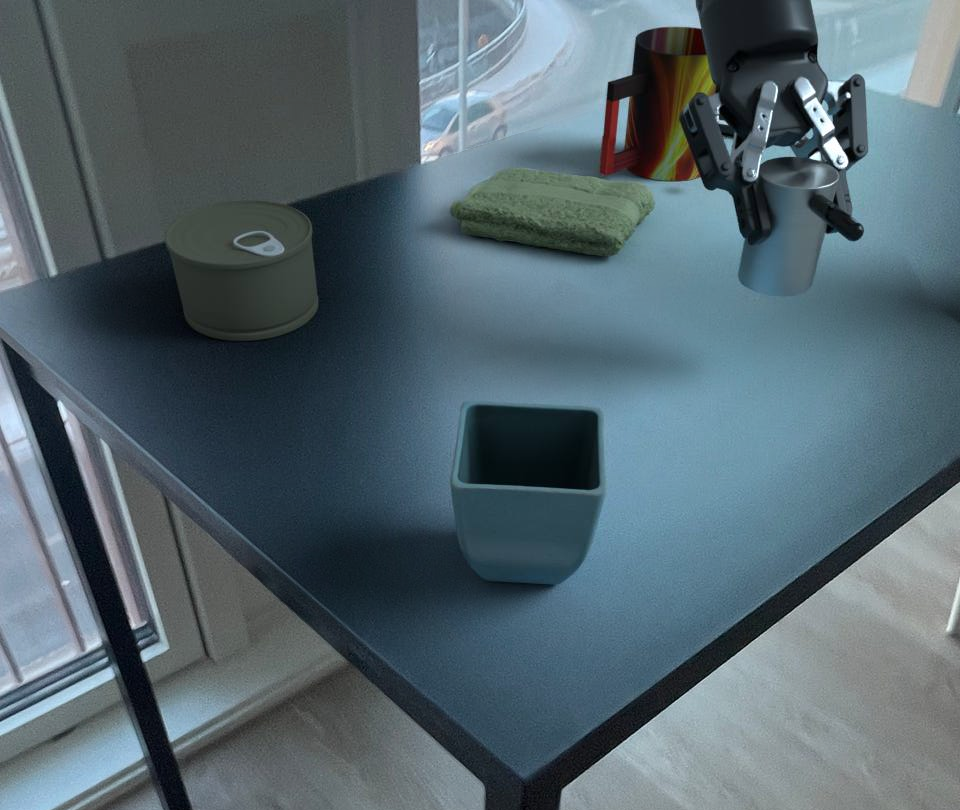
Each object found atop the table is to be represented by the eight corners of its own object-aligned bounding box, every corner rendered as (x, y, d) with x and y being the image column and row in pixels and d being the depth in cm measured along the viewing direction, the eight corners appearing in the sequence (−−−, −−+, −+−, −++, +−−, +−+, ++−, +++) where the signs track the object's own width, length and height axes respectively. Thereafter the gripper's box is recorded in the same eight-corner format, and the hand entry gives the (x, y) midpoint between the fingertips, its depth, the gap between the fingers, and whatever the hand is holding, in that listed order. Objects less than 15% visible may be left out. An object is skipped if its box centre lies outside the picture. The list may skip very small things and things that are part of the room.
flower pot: (591, 518, 68) (604, 404, 62) (593, 609, 62) (607, 493, 56) (462, 512, 69) (461, 398, 62) (451, 602, 62) (448, 486, 56)
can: (269, 262, 94) (257, 187, 89) (348, 309, 88) (341, 231, 83) (155, 305, 88) (136, 228, 83) (232, 358, 82) (216, 278, 77)
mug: (596, 185, 106) (607, 60, 98) (638, 141, 115) (652, 21, 106) (685, 202, 104) (704, 74, 95) (721, 155, 112) (741, 33, 104)
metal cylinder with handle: (724, 268, 78) (743, 161, 72) (789, 258, 79) (813, 152, 73) (797, 338, 71) (825, 226, 65) (867, 326, 72) (900, 214, 66)
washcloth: (496, 184, 107) (497, 152, 104) (657, 213, 102) (661, 181, 99) (444, 234, 98) (443, 201, 96) (616, 268, 93) (619, 234, 91)
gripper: (681, -26, 67) (733, 228, 67) (871, -43, 70) (918, 200, 70) (639, 40, 74) (687, 268, 75) (812, 22, 77) (856, 241, 78)
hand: (799, 234), depth 73 cm, fingers closed on metal cylinder with handle, 5 cm apart
